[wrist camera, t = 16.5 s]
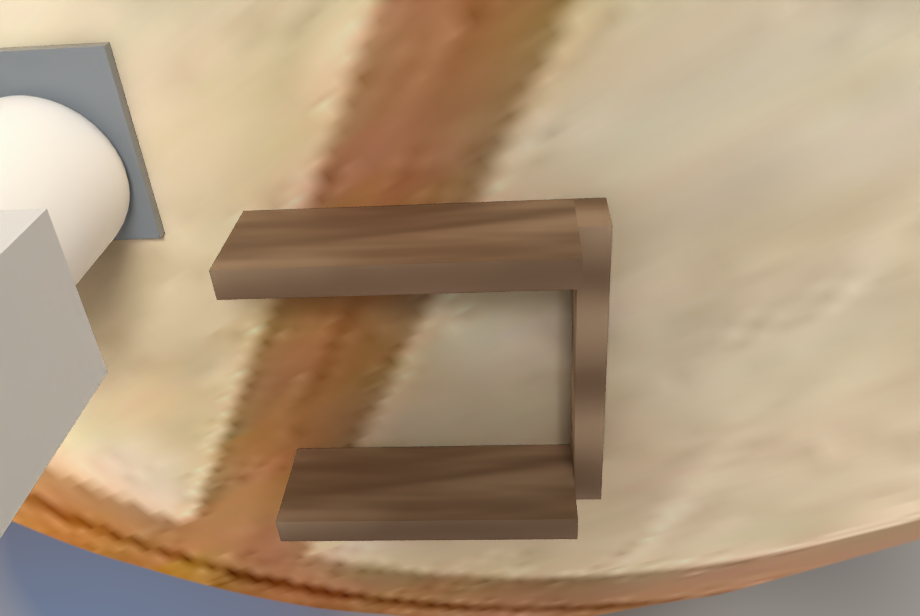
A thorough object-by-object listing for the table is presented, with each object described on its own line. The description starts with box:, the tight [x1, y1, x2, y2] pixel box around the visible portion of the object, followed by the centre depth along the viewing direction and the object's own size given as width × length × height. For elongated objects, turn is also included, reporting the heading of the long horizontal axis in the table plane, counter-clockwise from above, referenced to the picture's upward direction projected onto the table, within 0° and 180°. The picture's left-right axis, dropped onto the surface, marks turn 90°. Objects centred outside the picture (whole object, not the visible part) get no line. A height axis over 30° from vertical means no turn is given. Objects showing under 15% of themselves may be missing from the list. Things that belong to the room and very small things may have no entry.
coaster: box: [0, 42, 164, 240], centre depth 42 cm, size 10×10×1 cm
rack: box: [209, 198, 612, 541], centre depth 45 cm, size 18×19×6 cm
